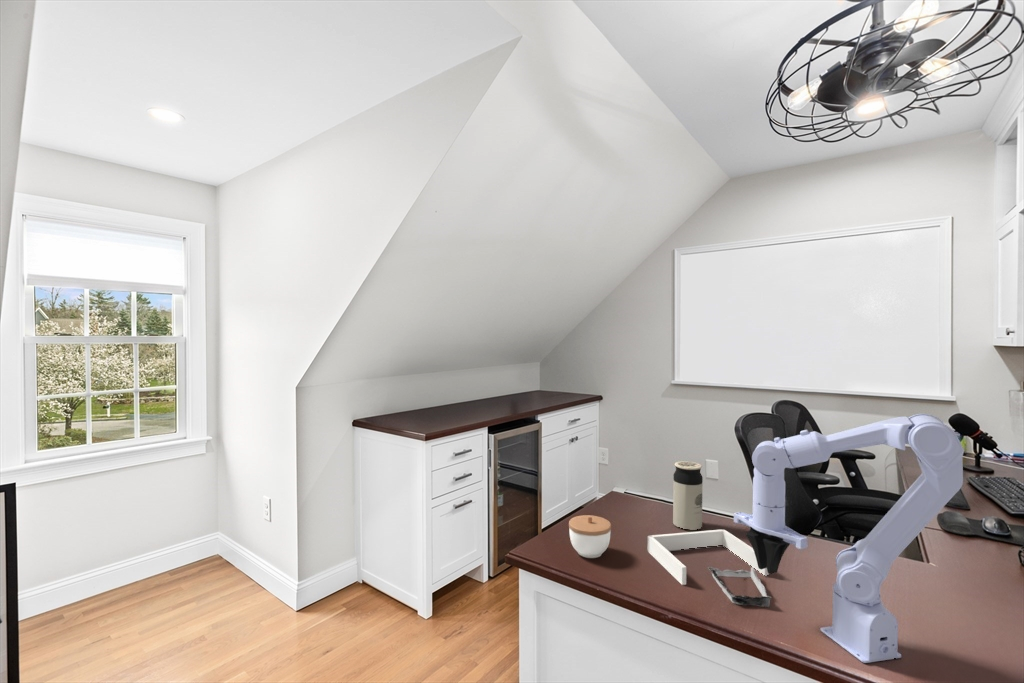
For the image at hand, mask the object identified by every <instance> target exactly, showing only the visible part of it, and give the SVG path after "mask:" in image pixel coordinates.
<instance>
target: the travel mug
mask: <svg viewBox="0 0 1024 683" xmlns="http://www.w3.org/2000/svg"><path fill="white" fill-rule="evenodd" d="M674 466H675V471H674V472H673V482H672V483H673V484H672V485H673V490H672V492H673V495H672V496H673V497H672V498H673V501H672V504H673V506H672V523H673V525H674V526H675V527H677V528H678V527H680V528H679V529H681V528H683V529H682V530H684V529H690V530H689V531H697V529H698V530H700V529H702V528H703V481H704V480H703V475H702V472H701V469H702V467H703V466H702V464H700V463H698V462H695V461H687V460H685V461H683V460H682V461H676V462H675V463H674ZM701 527H702V528H701Z"/></svg>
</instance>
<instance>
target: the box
mask: <svg viewBox="0 0 1024 683" xmlns="http://www.w3.org/2000/svg"><path fill="white" fill-rule="evenodd" d="M646 542H647V543H646V544H647V549H646V551H647V553H648V554H650V555H651V556H652V557H653V558H654V559H655V561H657V562H658V563H659V564H660V565H661V566H662V567H663V568H664V569H665V570H666V571H667V572H668V573H669V574H671V576H672V577H673V578H674V579H675V580H676V581H677V582H679V583H680V584H681V586H685V585H687V566H686V565H685V564H683V563H682V562H681V561H680V560H679V559H678V558H677V557H676V556H675V555H673V553H671V552H672V551H682V550H681V549H684V550H690V549H689V548H695V549H698V548H697V547H706V548H708V547H707V546H717V547H719V546H718V545H723V546H722V547H724V546H725V547H726V548H728V549H729V550H730V551H729V550H728V549H727V550H728V551H729V552H731V551H732V552H733V553H734V554H733V553H732V552H731V553H732V554H733V555H735V554H736V555H737V556H739V557H740V558H741V559H740V558H739V557H738V558H739V559H740V560H742V559H743V560H744V561H745V562H744V563H746V562H747V563H748V564H747V563H746V564H747V565H749V566H750V565H751V566H752V567H751V566H750V567H751V568H753V569H754V568H755V569H756V570H755V569H754V570H755V571H757V570H758V571H759V572H758V571H757V572H758V573H760V574H761V573H762V574H763V575H762V574H761V575H762V576H764V575H765V576H764V577H768V576H767V575H770V573H768V571H767V568H764V569H759V568H758V564H757V560H756V556H755V553H754V550H753V547H752V546H750V545H748V544H747V543H746V542H744V541H743V540H742V539H740V538H738V537H736V536H735V535H734V534H732V533H731V532H729V531H727V530H726V529H713V530H712V529H711V530H710V529H709V530H701V531H689V532H677V533H665V534H663V533H662V534H652V535H647V541H646ZM725 547H724V548H725ZM726 548H725V549H726ZM736 555H735V556H736ZM737 556H736V557H737ZM743 560H742V561H743Z"/></svg>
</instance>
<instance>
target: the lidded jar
mask: <svg viewBox="0 0 1024 683" xmlns="http://www.w3.org/2000/svg"><path fill="white" fill-rule="evenodd" d="M568 528H569V529H568V530H569V532H568V533H569V538H570V540H569V541H570V543H571V545H572V547H573V549H574V550H575V551H576V552H577V554H578V555H579V556H581V557H583V558H586V559H596V558H597V559H598V558H600V557H601V556H602V554H603V553H604V552H605V551H606V550H607V548H608V547H609V544H610V541H611V531H612V530H611V529H612V524H611V522H610V521H609V520H608V519H606V518H604V517H601V516H598V515H591V514H590V515H588V514H587V515H586V514H584V515H583V514H582V515H577V516H574V517H572V518H570V519H569V521H568Z"/></svg>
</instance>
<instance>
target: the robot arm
mask: <svg viewBox="0 0 1024 683" xmlns="http://www.w3.org/2000/svg"><path fill="white" fill-rule="evenodd" d="M878 445H886V446H889V447H892V448H894V449H898V450H901V451H906V445H908V446H910V448H911V450H912V451H913V453H914V454H915V458H916V460H917V463H918V466H919V469H920V470H921V474H920V475H919V476H918V477H917V478H916V479H915V481H913V483H912V484H910V486H909V488H907V489H906V491H905V492H904V493H903V494H902V496H900V498H899V499H898V500H897V501H896V502H895V503H894V504H893V506H892V507H891V508H890V509H889V510H888V511H887V513H885V515H884V516H883V517H882V518H881V519H880V521H879V522H878V523H877V524H876V525H875V526H874V527H873V528H872V530H871V531H870V532H869V533H868V534H867V535H866V536H865V537H864V538H862V539H860V540H858V541H856V542H855V543H854V544H853V546H851V547H847V548H845V549H842V550H840V552H838V554H837V555H836V558H835V566H836V573H837V575H836V581H835V582H834V583H833V584H832V620H831V622H832V623H831V624H832V625H831V626H823V627H820V631H821V632H822V633H823V634H824V635H826V636H827V637H828V638H830V639H831V640H832V641H834V642H835V643H836V644H838V645H839V646H840V647H841V648H843V649H844V650H846V651H847V652H848V653H850V654H851V655H852V656H853V657H855V658H856V659H858V661H861V663H863V664H868V663H875V662H880V661H886V660H887V661H889V660H894V658H896V659H900V658H902V654H901V653H900V652H898V647H899V646H898V644H899V643H898V642H899V637H898V636H899V624H898V619H897V618H896V616H895V615H894V614H893V613H892V612H891V611H890V610H888V609H887V607H886V606H885V605H884V604H883V601H882V596H881V588H882V583H883V582H884V581H885V580H886V579H887V577H888V575H889V573H890V569H891V567H892V564H893V562H895V560H896V559H898V557H899V556H900V555H901V553H903V551H904V550H906V548H907V547H908V546H910V544H911V543H912V542H913V541H914V539H916V537H918V535H919V534H920V533H921V532H922V531H923V530H924V528H925V527H927V526H928V524H929V523H930V522H931V521H932V520H933V519H934V518H935V517H936V516H937V515H938V514H939V513H940V511H941V510H942V509H943V508H944V507H945V506H946V505H947V503H949V501H950V500H951V499H952V498H953V497H954V496H956V494H957V493H958V492H959V491H960V490H961V488H962V486H963V484H964V470H963V469H964V468H963V466H964V465H963V464H964V463H963V462H964V461H963V456H964V453H965V449H964V446H963V445H962V443H961V441H960V440H959V437H958V435H957V433H956V432H955V431H954V430H953V428H951V427H950V426H948V425H947V424H945V423H944V421H943V420H941V418H939V417H937V416H934V415H933V414H928V413H917V414H913V415H911V416H909V417H907V416H898V417H893V418H892V417H891V418H888V419H884V420H879V421H875V422H873V423H872V422H871V423H869V424H865V425H861V426H858V427H853V428H849V429H846V430H843V431H838V432H835V433H831V434H826V435H825V434H822V433H820V432H818V431H815V430H814V431H809V430H808V429H804V430H801V431H800V432H799V434H797V435H793V436H789V437H786V438H785V437H784V438H781V437H780V436H779V437H778V436H777V437H774V438H773V441H772V440H764V441H761V442H760V443H759V444H758V445H757V446H756V447H755V449H754V451H753V452H752V456H751V460H752V461H751V462H752V464H753V466H754V468H753V477H752V514H749V513H747V512H743V511H738V512H737V511H736V512H734V513H733V523H736V524H738V525H739V524H741V525H744V526H747V527H749V531H746V532H745V536H746V537H747V540H748V541H749V543H750V545H751V547H752V548H753V550H754V553H755V556H756V560H757V564H758V568H759V569H764V568H767V571H768V573H769V575H773V574H775V573H778V569H779V566H780V563H781V561H782V558H783V556H784V554H785V552H786V551H787V549H788V547H789V546H790V545H793V546H795V548H796V549H798V550H803V549H806V548H808V537H807V536H805V535H802V534H800V533H799V532H797V531H795V530H794V529H792V528H790V527H789V526H787V525H786V481H785V469H786V468H787V469H796V468H800V467H805V466H811V465H815V464H818V463H824V462H828V461H829V460H830V457H831V456H832V455H833V453H839V452H845V451H850V450H855V449H861V448H868V447H872V446H873V447H875V446H878Z"/></svg>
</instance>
